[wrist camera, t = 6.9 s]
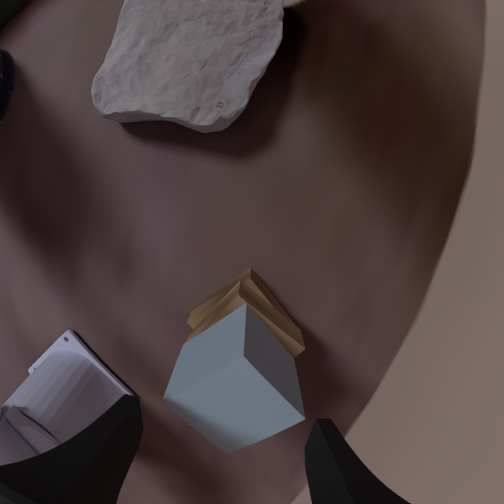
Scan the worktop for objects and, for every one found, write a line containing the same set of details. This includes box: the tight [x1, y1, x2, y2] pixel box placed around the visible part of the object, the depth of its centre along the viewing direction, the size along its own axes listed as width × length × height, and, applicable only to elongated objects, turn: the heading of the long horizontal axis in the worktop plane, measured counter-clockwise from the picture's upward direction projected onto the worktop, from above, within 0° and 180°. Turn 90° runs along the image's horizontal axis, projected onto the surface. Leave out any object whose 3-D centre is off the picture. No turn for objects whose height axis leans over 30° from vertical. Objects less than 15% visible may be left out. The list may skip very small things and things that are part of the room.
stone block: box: [91, 0, 284, 133], centre depth 15 cm, size 12×5×10 cm
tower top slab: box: [186, 280, 305, 358], centre depth 18 cm, size 5×5×2 cm
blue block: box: [162, 303, 305, 454], centre depth 14 cm, size 4×4×5 cm
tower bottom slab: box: [187, 268, 295, 329], centre depth 20 cm, size 5×5×2 cm
